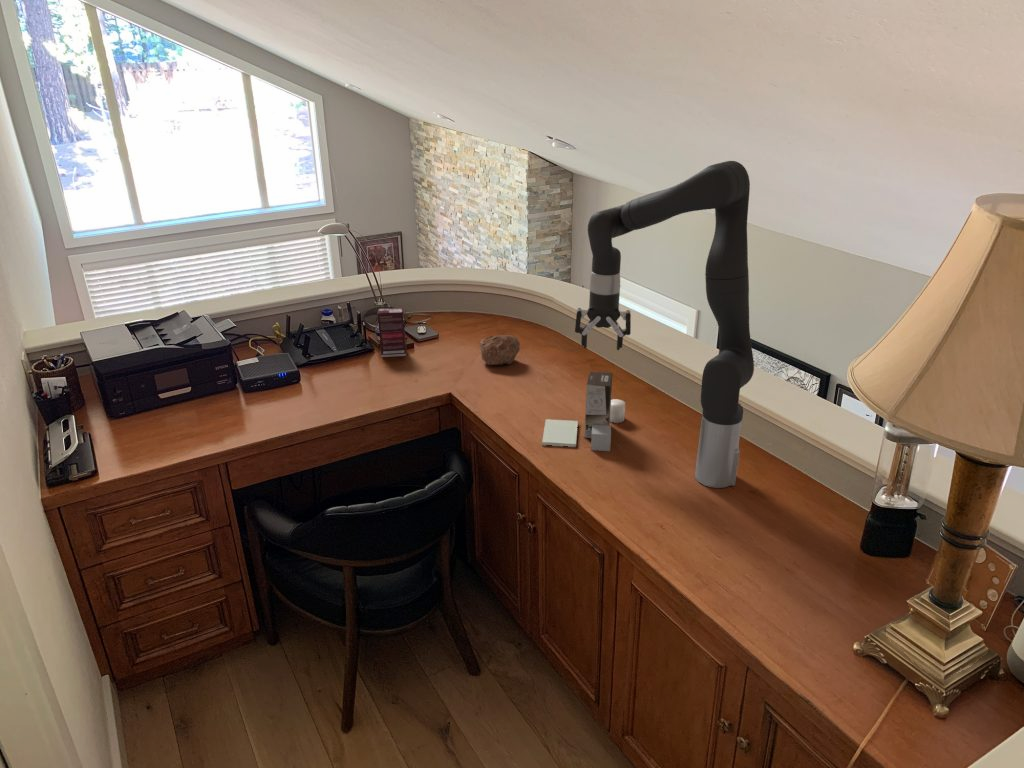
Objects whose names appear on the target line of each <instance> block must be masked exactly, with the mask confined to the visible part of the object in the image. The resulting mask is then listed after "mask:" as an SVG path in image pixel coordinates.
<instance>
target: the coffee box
mask: <svg viewBox="0 0 1024 768" xmlns="http://www.w3.org/2000/svg"><path fill="white" fill-rule="evenodd" d="M586 382H587V383H586V398H585V414H584V415H585V416H584V436H583V438H586V439H591V437H592V425H607V426H611V425H610V424H611V422H610V409H611V400H612V388H613V372H606V371H605V372H604V371H589V374H588V378H587V381H586Z"/></svg>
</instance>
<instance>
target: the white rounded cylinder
mask: <svg viewBox="0 0 1024 768" xmlns="http://www.w3.org/2000/svg"><path fill="white" fill-rule="evenodd" d="M625 411H626V402H625V401H624V400H622V399H617V398H616V399H615V398H613V399H612V398H611V409H610V423H612V422H614V423H613V424H619V422H620V423H623V422H624V421H625V414H626V413H625ZM622 421H623V422H622Z"/></svg>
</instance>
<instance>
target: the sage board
mask: <svg viewBox="0 0 1024 768" xmlns="http://www.w3.org/2000/svg"><path fill="white" fill-rule="evenodd" d="M544 422H545V423H544V429H543V435H542V441H541V445H542V446H546V445H552V447H563V446H568V447H567V448H576V447H577V438H578V437H577V436H578V428H577V427H579V425H578V424H579V421H578V420H566V419H565V420H564V419H563V420H562V419H548V418H546V419H545V421H544Z"/></svg>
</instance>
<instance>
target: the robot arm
mask: <svg viewBox="0 0 1024 768" xmlns="http://www.w3.org/2000/svg"><path fill="white" fill-rule="evenodd" d="M749 177H750V176H749V172H748V170H747V169H746V168H745V166H744V165H743V164H742V163H740V162H739V161H736V160H726V161H723V162H718V163H715V164H710V165H708V166H707V167H705V168H703V169H702V170H700V171H699V172H697V173H695V174H694V175H692V176H690V177H689V178H687V179H685V180H684V181H682V182H679V183H677V184H676V185H673V186H671V187H668V188H665V189H662V190H661V189H660V190H658V191H654V192H651V193H647V194H645V195H643V196H638V197H636V198H633V199H632V200H631V199H630V201H627V202H626V203H625V204H621V205H618V206H614V207H610V208H607V209H603V210H599V211H596V212H595V213H593V214H592V215H591V216H590V218H589V220H588V224H587V235H588V241H589V245H590V246H589V247H590V250H591V254H592V262H591V275H590V279H589V280H590V283H589V300H588V301H589V305H588V309H582V308H581V307H578V308H577V309H576V316H575V317H576V318H575V325H574V326H575V328H574V332H575V333H577V334H580V335H581V341H580V343H581V346H582V347H583V349H587V347H588V346H587V345H588V333H589V332H590V331H591V330H592V329H593V328H595V327H596V328H604V329H610V328H612V329H613V331H614V332H615V333H616V335H617V337H616V351H620V349H622V348H623V345H624V344H623V339H624V337H625V336H630V335H631V328H632V327H631V326H632V325H631V320H632V319H631V317H632V315H631V314H632V313H631V310H629V309H626V310H625V311H620V294H621V293H620V292H621V291H620V290H621V261H622V260H621V259H622V255H621V251H620V250H619V249H618V248H617V247H614V246H613V243H612V241H613V239H614V238H616V237H621V236H623V235H626V234H628V233H631V232H634V231H638V230H642V229H645V228H649V227H651V226H654V225H657V224H660V223H661V222H665V221H667V220H669V219H671V218H674V217H675V216H679V215H681V214H686V213H692V212H695V211H706V210H712V209H713V210H714V214H715V225H714V226H715V228H714V229H715V230H714V235H713V238H712V242H711V244H710V248H709V251H708V254H707V255H708V256H707V258H706V262H705V263H706V264H705V273H704V276H705V278H704V279H705V292H706V293H705V294H706V300H707V303H708V306H709V308H710V310H711V312H712V314H713V317H714V319H715V320H716V323H717V327H718V332H719V335H718V336H719V343H718V345H719V349H718V354H717V355H716V356H714V357H712V358H711V359H710V360H708V361H707V362H706V364H705V366H704V367H703V368H704V369H703V371H702V377H701V390H700V391H701V392H700V404H701V409H702V412H701V413H702V414H701V422H700V430H699V438H698V439H699V440H698V446H697V447H698V448H697V455H696V465H695V471H694V472H695V473H694V474H695V475H694V477H695V480H696V481H697V482H698V483H700V484H701V485H703V486H706V487H709V488H712V489H713V488H715V489H721V488H722V489H723V488H728V487H730V486H736V481H737V473H738V466H739V460H740V454H741V453H740V451H741V450H740V449H739V444H740V437H741V429H742V422H743V416H744V407H743V406H742V404H741V403H739V401H740V400H739V399H740V393H741V392H740V391H741V388H743V387H744V386H745V385H747V384H748V383H749V382H750V381H751V379H752V377H753V376H754V372H755V361H754V354H753V348H752V340H751V333H750V291H749V290H750V282H749V281H750V279H749V277H750V276H749V273H750V272H749V261H748V260H749V259H748V258H749V257H748V256H749V254H748V216H749V215H748V213H749V202H750V190H751V187H750V185H751V184H750V183H751V182H750V178H749ZM585 316H587V317H588V319H589V320H588V321H587V323H586V324H585V325H584V326H583V327H582V326H581V320H582V319H584V318H585ZM620 317H621V318H622V320H623V321H625V328H623V329H622V328H621V326H620V323H619V322H618V320H619V319H620Z"/></svg>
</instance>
